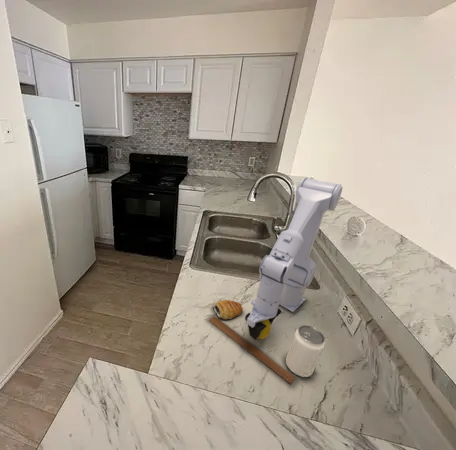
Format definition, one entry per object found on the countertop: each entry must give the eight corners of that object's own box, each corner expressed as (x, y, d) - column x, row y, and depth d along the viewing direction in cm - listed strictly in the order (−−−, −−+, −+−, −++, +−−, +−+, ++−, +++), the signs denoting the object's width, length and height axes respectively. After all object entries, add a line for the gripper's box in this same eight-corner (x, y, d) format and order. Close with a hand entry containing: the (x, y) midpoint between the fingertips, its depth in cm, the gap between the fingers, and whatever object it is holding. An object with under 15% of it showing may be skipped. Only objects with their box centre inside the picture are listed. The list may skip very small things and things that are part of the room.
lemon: (269, 346, 73) (275, 326, 69) (249, 343, 74) (254, 322, 70) (265, 331, 78) (271, 311, 74) (246, 328, 79) (251, 308, 75)
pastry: (235, 302, 89) (237, 294, 87) (246, 316, 83) (248, 308, 81) (211, 307, 86) (212, 298, 85) (220, 322, 81) (222, 313, 79)
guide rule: (214, 317, 82) (214, 316, 82) (294, 379, 64) (295, 377, 64) (209, 320, 81) (209, 319, 81) (290, 384, 63) (291, 383, 63)
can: (280, 356, 70) (291, 324, 65) (302, 354, 70) (315, 323, 65) (294, 379, 64) (307, 346, 59) (318, 377, 65) (333, 344, 59)
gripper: (268, 278, 76) (259, 312, 82) (240, 299, 67) (232, 335, 73) (292, 290, 71) (281, 325, 77) (264, 314, 63) (254, 352, 68)
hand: (259, 331), depth 75 cm, fingers closed on lemon, 5 cm apart
